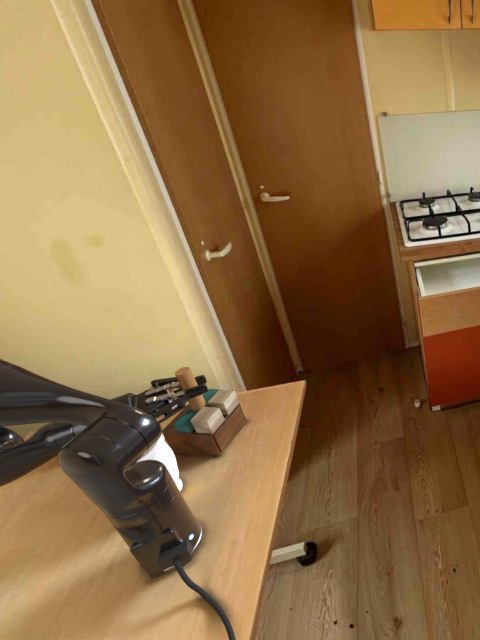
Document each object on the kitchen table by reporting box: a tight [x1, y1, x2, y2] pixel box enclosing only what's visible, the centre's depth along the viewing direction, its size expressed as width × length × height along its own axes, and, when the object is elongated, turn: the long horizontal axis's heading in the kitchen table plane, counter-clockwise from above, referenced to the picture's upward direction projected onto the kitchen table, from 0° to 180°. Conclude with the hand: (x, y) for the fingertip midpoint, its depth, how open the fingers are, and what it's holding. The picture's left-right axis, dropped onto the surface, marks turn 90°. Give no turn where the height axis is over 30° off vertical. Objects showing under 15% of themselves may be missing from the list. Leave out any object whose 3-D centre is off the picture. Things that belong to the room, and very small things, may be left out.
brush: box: [174, 366, 220, 435], centre depth 97 cm, size 11×4×14 cm, turn 175°
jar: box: [137, 433, 184, 493], centre depth 86 cm, size 11×10×15 cm
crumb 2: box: [208, 389, 241, 415], centre depth 101 cm, size 4×4×4 cm
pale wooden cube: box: [191, 407, 225, 434], centre depth 97 cm, size 4×4×4 cm
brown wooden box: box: [162, 403, 248, 457], centre depth 102 cm, size 12×10×7 cm
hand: (205, 382), depth 98 cm, fingers closed on brush, 3 cm apart
